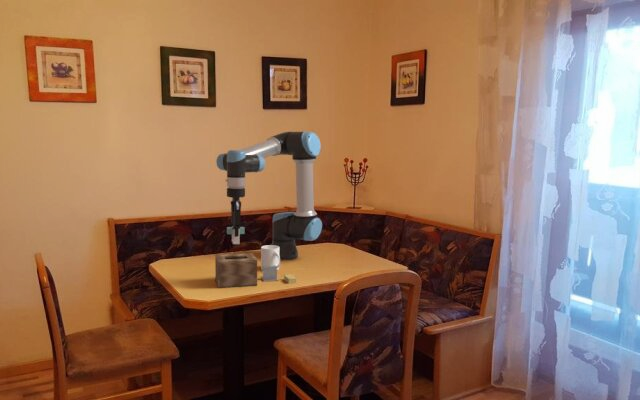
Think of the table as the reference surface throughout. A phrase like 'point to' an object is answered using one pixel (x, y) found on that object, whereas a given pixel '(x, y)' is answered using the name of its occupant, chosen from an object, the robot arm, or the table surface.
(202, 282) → the table surface
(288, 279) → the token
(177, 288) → the table surface
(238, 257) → the coin box
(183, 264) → the table surface
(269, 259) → the white rounded piece
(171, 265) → the table surface
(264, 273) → the stand
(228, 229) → the teal rectangular block
